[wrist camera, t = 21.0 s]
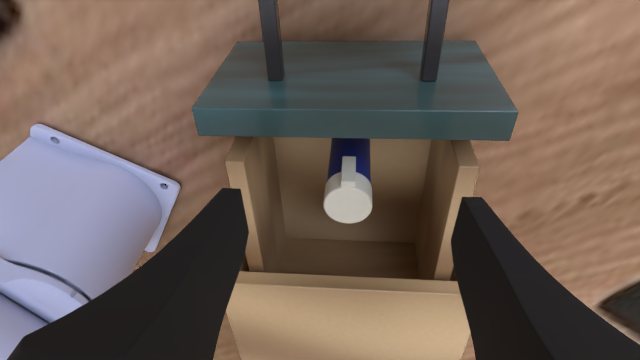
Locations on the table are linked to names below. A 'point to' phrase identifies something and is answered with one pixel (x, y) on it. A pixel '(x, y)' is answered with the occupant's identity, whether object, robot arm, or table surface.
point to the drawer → (354, 122)
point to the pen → (348, 180)
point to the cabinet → (346, 317)
